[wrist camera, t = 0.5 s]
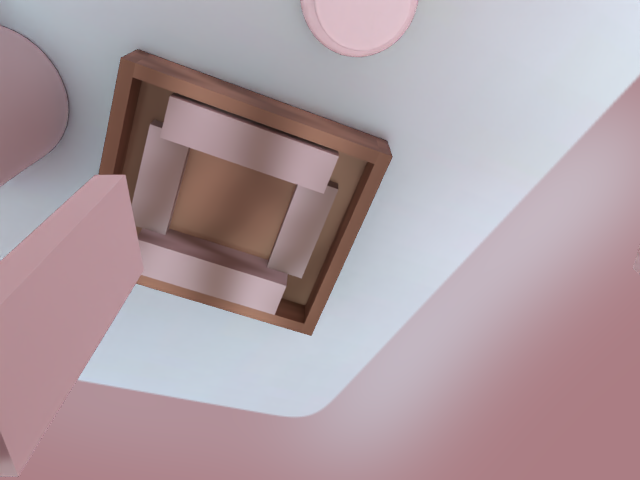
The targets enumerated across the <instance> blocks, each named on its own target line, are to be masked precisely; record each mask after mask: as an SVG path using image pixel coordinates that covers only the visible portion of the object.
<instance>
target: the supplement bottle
mask: <svg viewBox="0 0 640 480" xmlns="http://www.w3.org/2000/svg"><path fill="white" fill-rule="evenodd" d="M300 1H301V8H302V12H303V15H304V18H305V21H306V23H307V25H308V27H309V29H310V30H311V32H312V33H313V35H314V36H315V37H316V38H317V39H318V40H319V41H320V42H321V43H322V44H323V45H324V46H326V47H327V48H328V49H330V50H332V51H334V52H336V53H339V54H341V55H345V56H351V57H364V56H369V55H373V54H376V53H379V52H381V51H383V50H385V49H387V48H388V47H390V46H391V45H393V44H394V43H395V42H396V41H397V40H398V39H399V38H400V37H401V36H402V35H403V34H404V33H405V31H406V30H407V29H408V27H409V25H410V23H411V22H412V19H413V17H414V14H415V12H416V8H417V4H418V0H300Z"/></svg>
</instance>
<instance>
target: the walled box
mask: <svg viewBox="0 0 640 480" xmlns="http://www.w3.org/2000/svg"><path fill="white" fill-rule="evenodd" d="M391 159H392V154H391V151H390V148H389V145H388V142H387V141H386V140H383V139H380V138H378V137H375V136H372V135H370V134H367V133H364V132H361V131H359V130H356V129H353V128H350V127H348V126H345V125H342V124H340V123H337V122H334V121H331V120H329V119H326V118H323V117H321V116H318V115H315V114H312V113H310V112H307V111H304V110H302V109H299V108H296V107H293V106H291V105H288V104H285V103H283V102H280V101H277V100H274V99H272V98H269V97H266V96H264V95H261V94H258V93H255V92H253V91H250V90H247V89H245V88H242V87H239V86H236V85H234V84H231V83H228V82H226V81H223V80H220V79H217V78H215V77H212V76H209V75H207V74H204V73H201V72H198V71H196V70H193V69H190V68H187V67H185V66H182V65H179V64H177V63H174V62H171V61H168V60H166V59H163V58H160V57H158V56H155V55H152V54H149V53H147V52H144V51H141V50H139V49H137V50H135V51H133V52H131V53H129V54H127V55H125V56H123V57H121V59H120V65H119V70H118V75H117V80H116V85H115V91H114V96H113V101H112V106H111V112H110V117H109V122H108V127H107V133H106V138H105V143H104V148H103V154H102V159H101V164H100V169H99V175H126V180H127V185H128V190H129V196H130V201H131V206H132V211H133V216H134V221H135V226H136V231H137V237H138V242H139V247H140V252H141V257H142V262H143V267H144V271H143V272H142V274H141V276H140V277H139V279H138V281H137V282H136V284H139V285H143V286H146V287H149V288H153V289H156V290H159V291H163V292H166V293H170V294H173V295H176V296H180V297H183V298H186V299H190V300H193V301H196V302H200V303H203V304H206V305H210V306H213V307H216V308H220V309H223V310H226V311H230V312H233V313H237V314H240V315H243V316H247V317H250V318H253V319H257V320H260V321H263V322H267V323H270V324H273V325H277V326H280V327H283V328H287V329H290V330H293V331H297V332H300V333H304V334H307V335H310V336H311V335H312V333H313V331H314V329H315V326H316V324H317V322H318V320H319V318H320V315H321V313H322V311H323V309H324V307H325V304H326V302H327V300H328V298H329V296H330V293H331V291H332V289H333V287H334V285H335V282H336V280H337V278H338V276H339V274H340V271H341V269H342V267H343V265H344V263H345V260H346V258H347V256H348V254H349V251H350V249H351V247H352V245H353V243H354V240H355V238H356V236H357V234H358V232H359V229H360V227H361V225H362V223H363V221H364V218H365V216H366V214H367V212H368V210H369V207H370V205H371V203H372V201H373V199H374V196H375V194H376V192H377V190H378V188H379V185H380V183H381V181H382V179H383V176H384V174H385V172H386V170H387V168H388V165H389V163H390V161H391Z"/></svg>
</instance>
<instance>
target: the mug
mask: <svg viewBox="0 0 640 480" xmlns="http://www.w3.org/2000/svg"><path fill="white" fill-rule="evenodd" d="M67 121H68V99H67V94H66V90H65V87H64V85H63V82H62V79H61V77H60V76H59V74H58V72H57V70H56V68H55V67H54V65H53V64H52V63H51V61H50V60H49V59H48V58H47V56H46V55H45V54H44V53H43V52H42V51H41V50H40V49H39V48H38V47H37V46H36V45H35V44H33V43H32V42H31V41H29V40H28V39H27V38H25V37H24V36H22V35H20V34H19V33H17V32H15V31H13V30H11V29H8V28H6V27H3V26H0V187H1V186H2V185H3V184H5V183H6V182H7V181H9V180H10V179H12V178H13V177H14V176H16V175H17V174H19V173H20V172H21V171H23V170H24V169H26V168H27V167H29V166H30V165H32V164H33V163H35V162H36V161H38V160H39V159H41V158H42V157H44V156H45V155H46V154H48V153H49V152H50V151H51V150H52V149H53V148H54V147H55V146H56V145H57V144H58V142H59V141H60V139H61V138H62V135H63V133H64V131H65V129H66V125H67Z"/></svg>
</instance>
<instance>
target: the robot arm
mask: <svg viewBox="0 0 640 480" xmlns="http://www.w3.org/2000/svg"><path fill="white" fill-rule="evenodd" d="M633 268H634V269H635V270H636V271H637V272H638V273H639V275H640V246H639V250H638V253H637V256H636V260H635V263H634V267H633ZM143 271H144V267H143V262H142V257H141V252H140V247H139V242H138V237H137V231H136V226H135V221H134V216H133V211H132V206H131V201H130V196H129V190H128V185H127V180H126V175H94V176H93V177H92V178H91V179H90V180H89V181H88V182H87V183H86V184H85V185H83V186H82V187H81V188H80V189H79V190H78V191H77V192H76V193H75V194H74V195H73V196H71V197H70V198H69V199H68V200H67V201H66V202H65V203H64V204H63V205H62V206H60V207H59V208H58V209H57V210H56V211H55V212H54V213H53V214H52V215H51V216H50V217H48V218H47V219H46V220H45V221H44V222H43V223H42V224H41V225H40V226H39V227H37V228H36V229H35V230H34V231H33V232H32V233H31V234H30V235H29V236H28V237H26V238H25V239H24V240H23V241H22V242H21V243H20V244H19V245H18V246H17V247H16V248H14V249H13V250H12V251H11V252H10V253H9V254H8V255H7V256H6V257H5V258H3V259H2V260H1V261H0V477H19V475H20V473H21V472H22V470H23V469H24V467H25V465H26V464H27V462H28V460H29V459H30V457H31V455H32V454H33V452H34V450H35V449H36V447H37V445H38V444H39V442H40V441H41V439H42V437H43V436H44V434H45V432H46V431H47V429H48V427H49V426H50V424H51V422H52V421H53V419H54V417H55V416H56V414H57V412H58V411H59V409H60V407H61V406H62V404H63V403H64V401H65V399H66V398H67V396H68V394H69V393H70V391H71V389H72V388H73V386H74V384H75V383H76V381H77V380H78V378H79V376H80V375H81V373H82V371H83V370H84V368H85V366H86V365H87V363H88V361H89V360H90V358H91V356H92V355H93V353H94V352H95V350H96V348H97V347H98V345H99V343H100V342H101V340H102V338H103V337H104V335H105V333H106V332H107V330H108V328H109V327H110V325H111V323H112V322H113V320H114V319H115V317H116V315H117V314H118V312H119V310H120V309H121V307H122V305H123V304H124V302H125V300H126V299H127V297H128V295H129V294H130V292H131V291H132V289H133V287H134V286H135V284H136V282H137V281H138V279H139V277H140V276H141V274H142V272H143Z"/></svg>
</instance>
